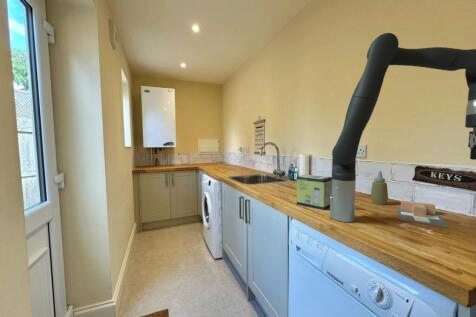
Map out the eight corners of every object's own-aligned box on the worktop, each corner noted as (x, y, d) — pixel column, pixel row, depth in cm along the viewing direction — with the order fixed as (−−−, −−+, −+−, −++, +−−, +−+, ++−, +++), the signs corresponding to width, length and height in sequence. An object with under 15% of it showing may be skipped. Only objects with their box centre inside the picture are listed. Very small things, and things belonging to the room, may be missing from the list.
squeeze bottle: (373, 205, 110) (374, 172, 109) (367, 201, 118) (368, 170, 117) (390, 206, 108) (392, 172, 107) (384, 202, 116) (385, 170, 115)
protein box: (305, 200, 121) (305, 174, 121) (332, 206, 110) (332, 177, 110) (295, 204, 114) (296, 176, 113) (324, 210, 103) (324, 179, 102)
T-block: (402, 214, 95) (402, 205, 95) (400, 208, 104) (400, 200, 104) (438, 219, 88) (438, 209, 88) (433, 212, 97) (433, 204, 97)
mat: (400, 221, 88) (400, 219, 88) (396, 207, 106) (396, 206, 106) (449, 228, 79) (449, 227, 79) (436, 212, 98) (436, 211, 98)
